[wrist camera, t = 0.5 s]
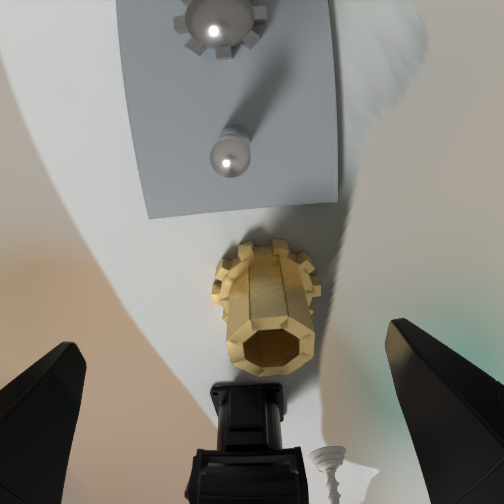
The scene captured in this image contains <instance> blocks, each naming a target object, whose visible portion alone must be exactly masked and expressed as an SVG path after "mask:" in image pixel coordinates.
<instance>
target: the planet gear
mask: <svg viewBox="0 0 504 504" xmlns="http://www.w3.org/2000/svg"><path fill="white" fill-rule="evenodd" d="M313 270H315V267H314V264H313V261H312V259H311V258H310V257H309V255H308V254H307V253H306V252H305V251H302V252H301V253H300V254H298V255H296V254H294V253H292V252H290V251H289V248H288V244H287V241H285V240H280V239H275V238H273V239H272V243H271V246H261V247H255V246H254V244H253V242H252V240H250V241H248V242H245V243H242V244H240V245H238V255H237V256H236V257H235V258H233V259H232V260H231V261H229V260H227V259H225V258H222V259H221V261H220V263H219V264H218V266H217V267H216V273H215V278H216V279H218V280H220V281H221V283H219V284H213V288H212V299H213V304H214V305H222V306H223V308H224V309H223V320H224V321H225V322H227V340H226V341H227V346H228V351H229V356H230V361H231V363H232V365H234V366H236V367H238V368H240V369H242V370H244V371H246V372H248V373H250V374H252V375H254V376H256V377H257V376H258V377H265V376H277V375H287V374H289V373H290V374H291V373H292V372H294V371H295V370H297V369H298V368H299V367H301V366H302V365H303V364H305V363H306V362H307V361H309V360H310V359H312V358H313V356H314V343H315V331H314V327H313V323H312V319H311V315H312V313H313V312H314V309H313V305H312V301H311V300H312V298H313V297H318V296H321V283H320V280H319V277H318V275H312V276H310V274H309V273H311V272H312V271H313Z"/></svg>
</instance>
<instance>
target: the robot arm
mask: <svg viewBox="0 0 504 504" xmlns="http://www.w3.org/2000/svg"><path fill="white" fill-rule="evenodd" d="M385 350H386V354H387V358H388V361H389V365H390V369H391V373H392V378H393V382H394V386H395V390H396V394H397V397H398V400H399V403H400V406H401V409H402V412H403V415H404V418H405V420H406V423H407V426H408V429H409V432H410V435H411V438H412V441H413V444H414V448H415V451H416V454H417V457H418V460H419V464H420V467H421V470H422V473H423V477H424V480H425V484H426V487H427V491H428V494H429V498H430V502H431V504H504V385H503V384H501V383H500V382H499V381H496V380H495V379H494V378H493V377H491V376H489V375H488V374H487V373H486V372H484V371H483V370H481V369H480V368H478V367H477V366H475V365H474V364H472V363H471V362H470V361H468V360H467V359H465V358H464V357H462V356H461V355H459V354H458V353H456V352H455V351H453V350H452V349H450V348H449V347H447V346H446V345H444V344H443V343H442V342H440V341H438V340H437V339H436V338H434V337H432V336H431V335H430V334H428V333H426V332H425V331H424V330H422V329H420V328H419V327H418V326H416V325H415V324H413V323H411V322H410V321H408V320H407V319H405V318H399V319H394V320H391V321H390V323H389V326H388V331H387V336H386V340H385ZM85 374H86V361H85V359H84V357H83V356H82V354H81V352H80V350H79V348H78V347H77V345H76V344H75V343H74V342H62V343H60V344H59V345H58V346H56V347H55V348H54V349H52V350H51V351H50V352H49V353H47V354H46V355H45V356H43V357H42V358H41V359H39V360H38V361H37V362H35V363H34V364H33V365H31V366H30V367H29V368H28V369H26V370H25V371H24V372H23V373H21V374H20V375H19V376H17V377H16V378H15V379H14V380H12V381H11V382H10V383H8V384H7V385H6V386H5V387H4V388H2V389H1V390H0V504H61V501H62V494H63V488H64V482H65V476H66V471H67V465H68V460H69V455H70V450H71V446H72V441H73V436H74V432H75V427H76V424H77V420H78V415H79V411H80V405H81V399H82V392H83V386H84V379H85ZM210 395H211V398H212V401H213V404H214V407H215V410H216V413H217V416H218V436H217V450H204V449H198V450H197V454H196V456H194V457H193V466H192V472H191V476H190V479H189V482H188V485H187V487H186V490H185V498H186V499H187V500H188V501H189V503H190V504H309V494H308V484H307V478H306V473H305V467H304V462H303V457H302V452H301V447H294V448H288V449H282V437H281V425H280V422H282V421H283V420H284V418H283V390H282V385H281V384H266V385H252V386H234V387H214V388H211V390H210Z"/></svg>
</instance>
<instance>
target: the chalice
mask: <svg viewBox="0 0 504 504" xmlns="http://www.w3.org/2000/svg"><path fill="white" fill-rule="evenodd" d="M345 452H346V449H345V448H344V447H341V446H330V447H325V448H321V449H318V450H316V451H314V452H312V453H311V454H310V455H309V459H310V460H311V461H312V464H313V465H314V466H315V468H316V469H317V470H318V471H320V472H324V473H325V474H326V475H327V477H328V482H327V484H326V485H325V486H326V487H327V488H328V489H329V491H330V494H329V497H328V499H329V500H330V502H331V504H339V498H340V496H341V495H340V494H339V493H338V491H337V486H338V485H339V483H338V482H337V481H336V479H335V472H336V469H338V468H340V467H341V465H342V464H343V459H344V454H345Z"/></svg>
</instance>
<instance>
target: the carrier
mask: <svg viewBox="0 0 504 504" xmlns="http://www.w3.org/2000/svg"><path fill="white" fill-rule="evenodd" d="M116 10H117V23H118V35H119V45H120V55H121V64H122V72H123V80H124V88H125V95H126V102H127V109H128V115H129V121H130V127H131V133H132V139H133V145H134V150H135V156H136V161H137V166H138V171H139V176H140V181H141V186H142V191H143V195H144V200H145V204H146V209H147V213H148V218H149V219H157V218H165V217H174V216H183V215H192V214H202V213H211V212H221V211H232V210H242V209H253V208H265V207H277V206H289V205H302V204H316V203H331V202H338V141H337V110H336V90H335V74H334V60H333V47H332V36H331V26H330V17H329V8H328V0H116Z"/></svg>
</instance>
